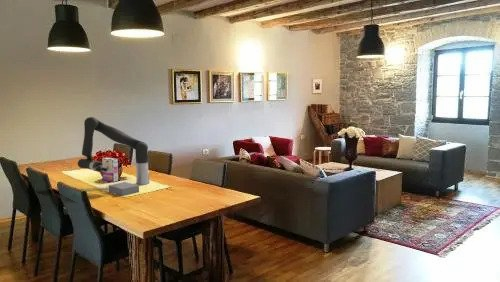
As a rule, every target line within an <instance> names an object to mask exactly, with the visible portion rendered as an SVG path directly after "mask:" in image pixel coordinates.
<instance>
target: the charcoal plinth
mask: <svg viewBox="0 0 500 282" xmlns="http://www.w3.org/2000/svg"><path fill="white" fill-rule="evenodd" d="M108 193H111V194H115V195H117V196H122V197H125V196H128V195H133V194H136V193H140V185H138V184H135V183H131V182H128V181H127V182H126V181H124V182H118V183H114V184H108Z"/></svg>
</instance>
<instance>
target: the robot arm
mask: <svg viewBox="0 0 500 282" xmlns="http://www.w3.org/2000/svg"><path fill="white" fill-rule="evenodd" d="M83 123H84V135H83V136H84V137H83V142H82V148H81V155H82V156H84V157H86V158H80V159H78V161H77V166H78V167H79V169H88V170H91V171H93V172H97V173H101V172H102V171H107V169H106V168H103V167H102V161H98V160H93V155H92V153H93V148H94V147H93V146H94V145H93V144H94V140H93V139H94V133H95V131H96V132H99V133H101V134H102V135H104V136H105V137H107V138H108V139H110V140H111V141H112V142H115V143H117V144H121V145H124V146H127V147H130V148H132V149H133V150H134V151H135V172H136V173H135V174H136V185H139V186H141V185H142V186H145V185H148V184H150V171H149V157H148V156H149V154H148V152H149V151H148V150H149V146H148V144H147V143H146V142H144V141H141V140H139V139H137V138H134V137H132V136H131V135H129V134H127V133H125V132H124V131H121V130H119V129H117V128H115V127H113V126H111V125H110V126H109V125H108V124H105V123H104V122H102V121H100V120H99V119H97V118H95V117H94V116H89V117H87V118H86V119H85V120H84V122H83ZM102 173H103V172H102Z"/></svg>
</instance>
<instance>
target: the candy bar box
mask: <svg viewBox="0 0 500 282" xmlns="http://www.w3.org/2000/svg"><path fill="white" fill-rule="evenodd" d="M101 162H102V167H103V168H106V169H107V171H102V181H104V182H110V183H117V182H119V159H118V158H113V157H103V158H101Z"/></svg>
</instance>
